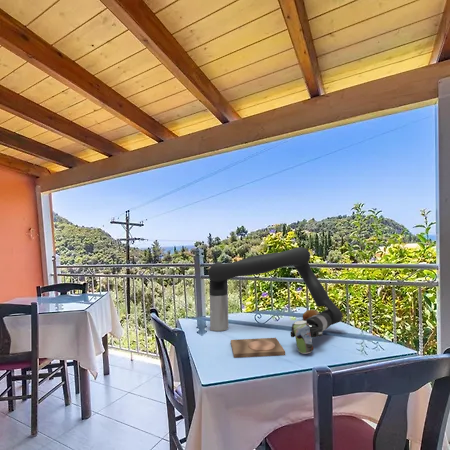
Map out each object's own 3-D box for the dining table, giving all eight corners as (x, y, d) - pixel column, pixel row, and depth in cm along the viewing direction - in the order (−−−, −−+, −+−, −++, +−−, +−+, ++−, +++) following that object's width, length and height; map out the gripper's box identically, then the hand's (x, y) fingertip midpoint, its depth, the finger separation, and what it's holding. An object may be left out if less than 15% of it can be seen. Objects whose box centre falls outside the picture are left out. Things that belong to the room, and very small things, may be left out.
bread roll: (322, 327, 165) (321, 312, 169) (321, 323, 156) (321, 308, 160) (303, 325, 168) (303, 311, 172) (301, 322, 160) (301, 307, 163)
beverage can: (314, 356, 116) (312, 324, 117) (294, 354, 118) (293, 323, 118) (313, 349, 123) (312, 319, 123) (294, 348, 124) (293, 318, 124)
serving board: (234, 357, 118) (233, 353, 118) (230, 343, 134) (230, 339, 134) (285, 355, 119) (285, 350, 119) (276, 341, 135) (275, 337, 135)
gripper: (300, 313, 138) (280, 322, 125) (330, 319, 129) (312, 329, 116) (300, 330, 138) (280, 341, 125) (331, 337, 128) (313, 349, 116)
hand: (296, 335), depth 120 cm, fingers closed on beverage can, 3 cm apart
